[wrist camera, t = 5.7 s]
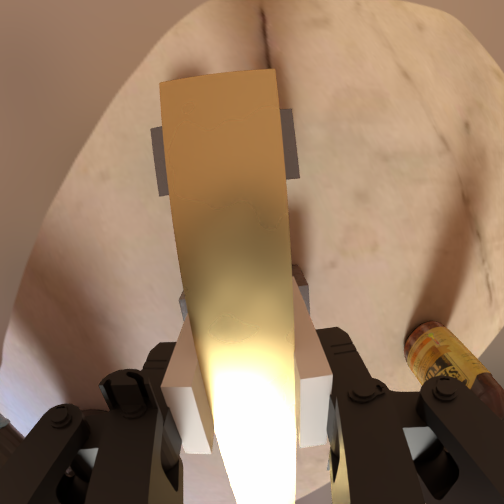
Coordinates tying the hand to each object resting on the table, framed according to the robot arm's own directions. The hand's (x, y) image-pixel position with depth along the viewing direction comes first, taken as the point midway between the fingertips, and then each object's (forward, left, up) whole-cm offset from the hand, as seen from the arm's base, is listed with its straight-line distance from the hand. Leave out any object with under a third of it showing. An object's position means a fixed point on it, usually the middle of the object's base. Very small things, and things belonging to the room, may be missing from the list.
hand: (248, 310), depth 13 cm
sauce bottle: (+19, -15, -15) cm, 28 cm away
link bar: (0, 0, -1) cm, 1 cm away
